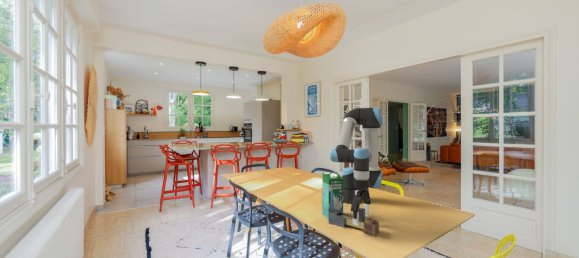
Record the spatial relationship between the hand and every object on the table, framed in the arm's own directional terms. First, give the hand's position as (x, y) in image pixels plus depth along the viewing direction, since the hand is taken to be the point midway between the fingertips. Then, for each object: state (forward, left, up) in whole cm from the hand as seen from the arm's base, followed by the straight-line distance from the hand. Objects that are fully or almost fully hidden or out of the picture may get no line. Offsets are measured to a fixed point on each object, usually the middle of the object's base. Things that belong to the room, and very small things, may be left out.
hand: (361, 220), depth 120 cm
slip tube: (0, -3, -3) cm, 4 cm away
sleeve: (0, -12, -5) cm, 13 cm away
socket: (0, +6, -5) cm, 7 cm away
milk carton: (-7, -20, -5) cm, 22 cm away
